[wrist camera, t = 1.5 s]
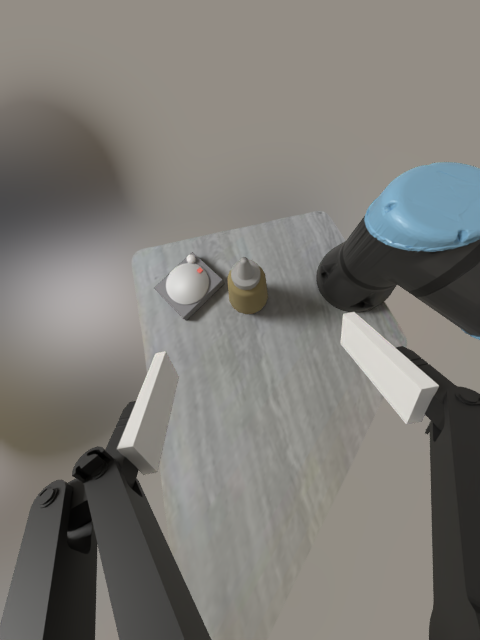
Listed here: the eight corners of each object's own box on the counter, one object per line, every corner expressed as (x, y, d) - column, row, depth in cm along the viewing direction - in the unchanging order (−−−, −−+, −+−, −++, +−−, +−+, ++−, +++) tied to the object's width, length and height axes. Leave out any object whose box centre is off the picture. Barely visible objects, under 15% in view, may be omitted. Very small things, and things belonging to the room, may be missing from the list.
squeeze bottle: (227, 289, 47) (209, 244, 29) (261, 279, 46) (263, 228, 29) (236, 322, 45) (223, 295, 27) (271, 312, 45) (281, 279, 27)
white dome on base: (195, 257, 49) (191, 250, 46) (224, 283, 47) (221, 277, 44) (158, 291, 48) (151, 286, 45) (186, 320, 46) (181, 317, 43)
